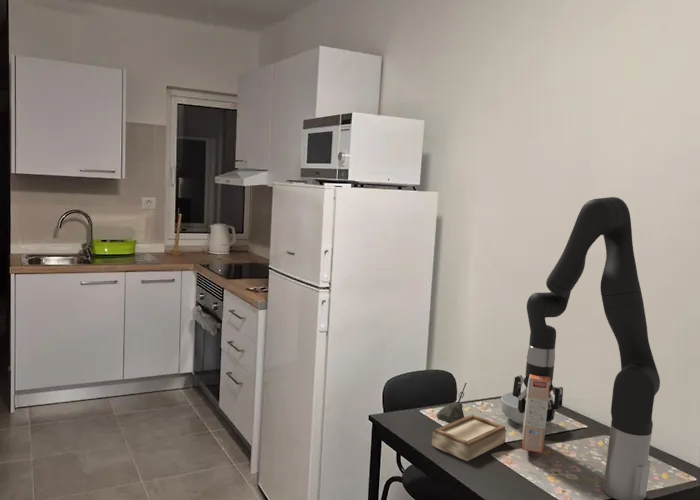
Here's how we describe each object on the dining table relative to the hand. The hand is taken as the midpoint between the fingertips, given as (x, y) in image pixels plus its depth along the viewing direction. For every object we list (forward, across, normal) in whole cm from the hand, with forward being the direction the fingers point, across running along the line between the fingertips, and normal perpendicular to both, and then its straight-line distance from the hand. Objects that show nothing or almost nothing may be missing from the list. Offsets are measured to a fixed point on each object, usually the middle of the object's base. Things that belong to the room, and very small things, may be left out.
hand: (535, 416), depth 176 cm
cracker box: (+8, 0, 0) cm, 8 cm away
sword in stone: (+10, +27, 0) cm, 29 cm away
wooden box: (+9, +13, +12) cm, 20 cm away
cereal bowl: (+10, +12, -18) cm, 23 cm away
